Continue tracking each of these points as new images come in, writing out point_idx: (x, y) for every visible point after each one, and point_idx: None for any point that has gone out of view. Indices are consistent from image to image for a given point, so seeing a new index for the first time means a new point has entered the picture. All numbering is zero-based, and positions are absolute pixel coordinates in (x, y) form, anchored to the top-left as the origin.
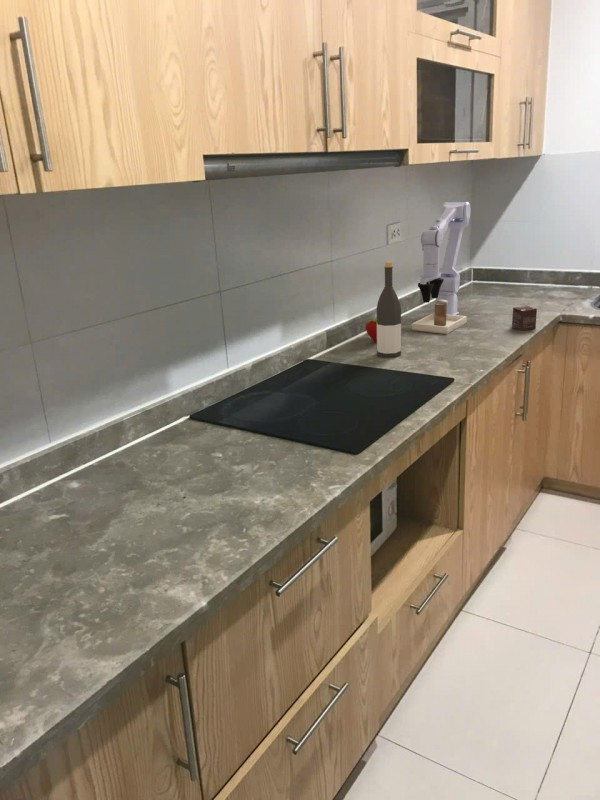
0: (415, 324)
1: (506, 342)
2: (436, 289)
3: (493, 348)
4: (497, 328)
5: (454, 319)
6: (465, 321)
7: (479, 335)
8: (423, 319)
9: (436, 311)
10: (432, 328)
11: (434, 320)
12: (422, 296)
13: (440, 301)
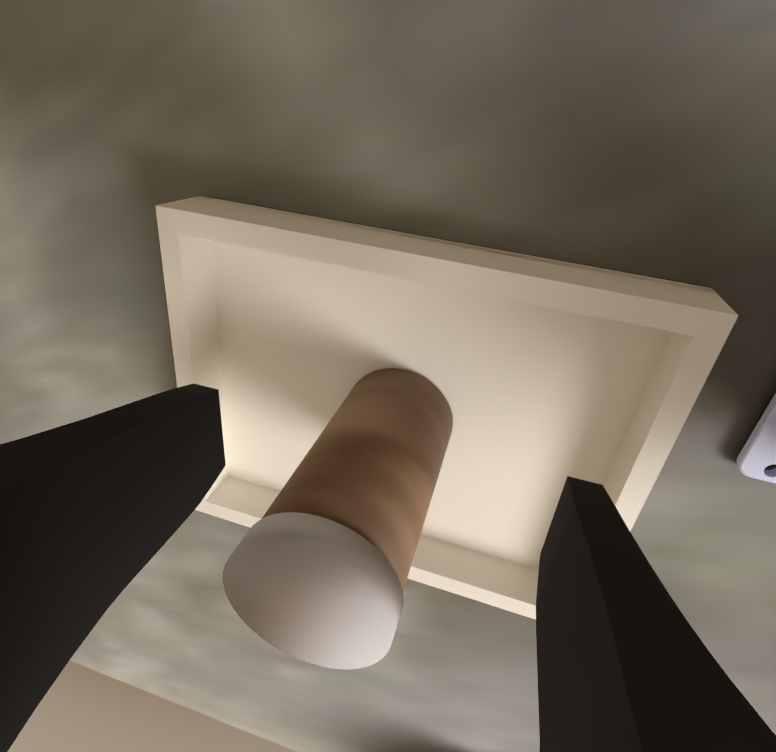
0: (164, 246)
1: (218, 691)
2: (553, 728)
3: (119, 642)
4: (452, 707)
5: None
6: None
7: None
8: (382, 272)
9: (292, 474)
10: None
11: (352, 396)
12: (92, 422)
13: (275, 601)
